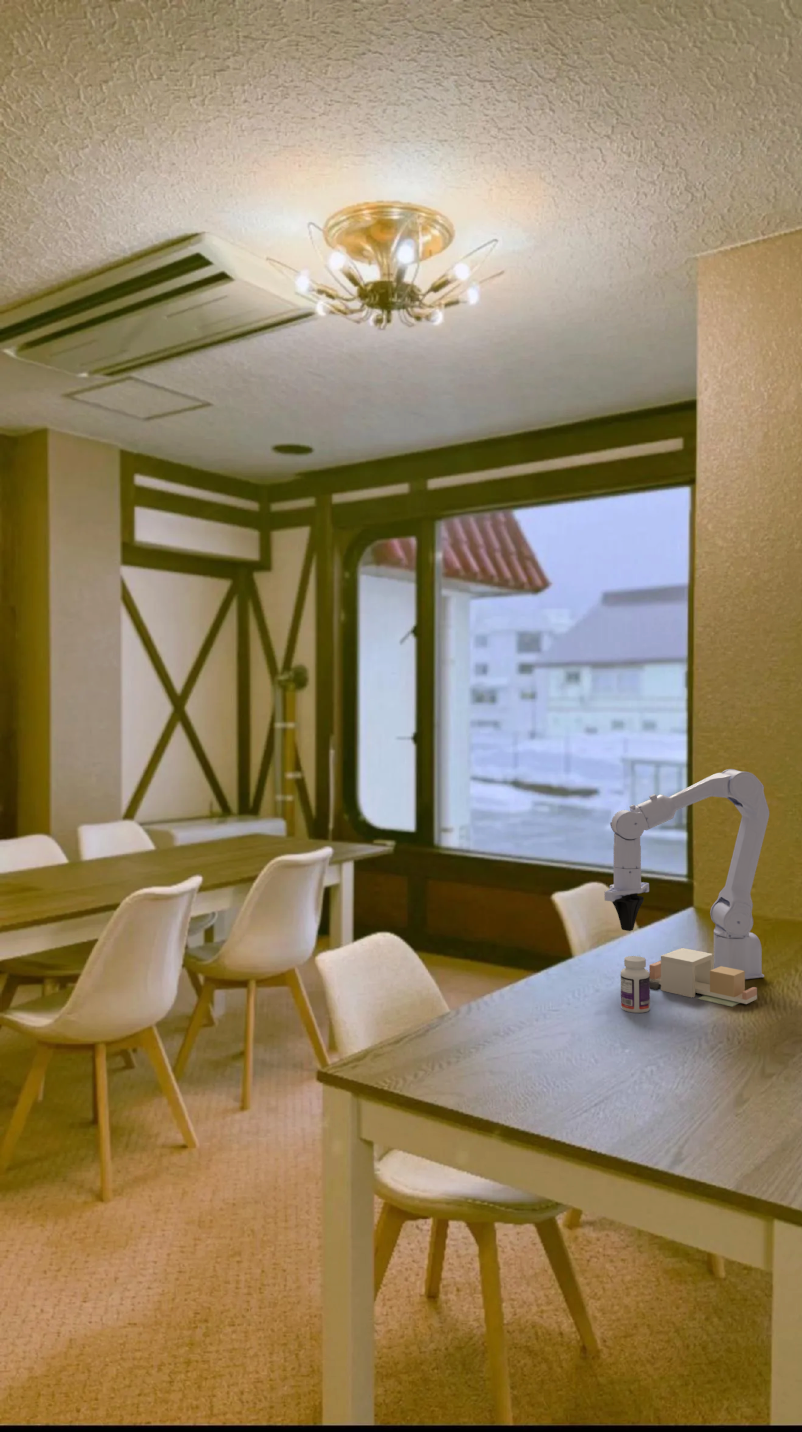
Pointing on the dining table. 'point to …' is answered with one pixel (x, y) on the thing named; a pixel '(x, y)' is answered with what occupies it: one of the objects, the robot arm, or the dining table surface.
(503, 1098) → the dining table surface
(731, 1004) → the pad
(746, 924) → the robot arm
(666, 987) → the tunnel
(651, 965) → the sled
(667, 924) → the dining table surface
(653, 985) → the pit tray
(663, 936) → the dining table surface
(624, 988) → the pill bottle
